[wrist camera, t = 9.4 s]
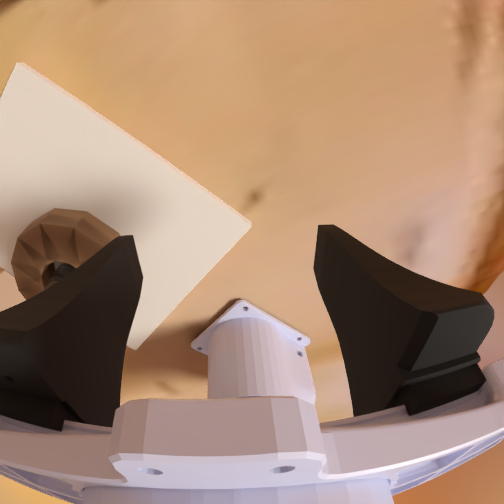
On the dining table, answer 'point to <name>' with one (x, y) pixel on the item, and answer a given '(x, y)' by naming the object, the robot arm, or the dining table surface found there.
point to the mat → (107, 192)
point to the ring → (56, 246)
